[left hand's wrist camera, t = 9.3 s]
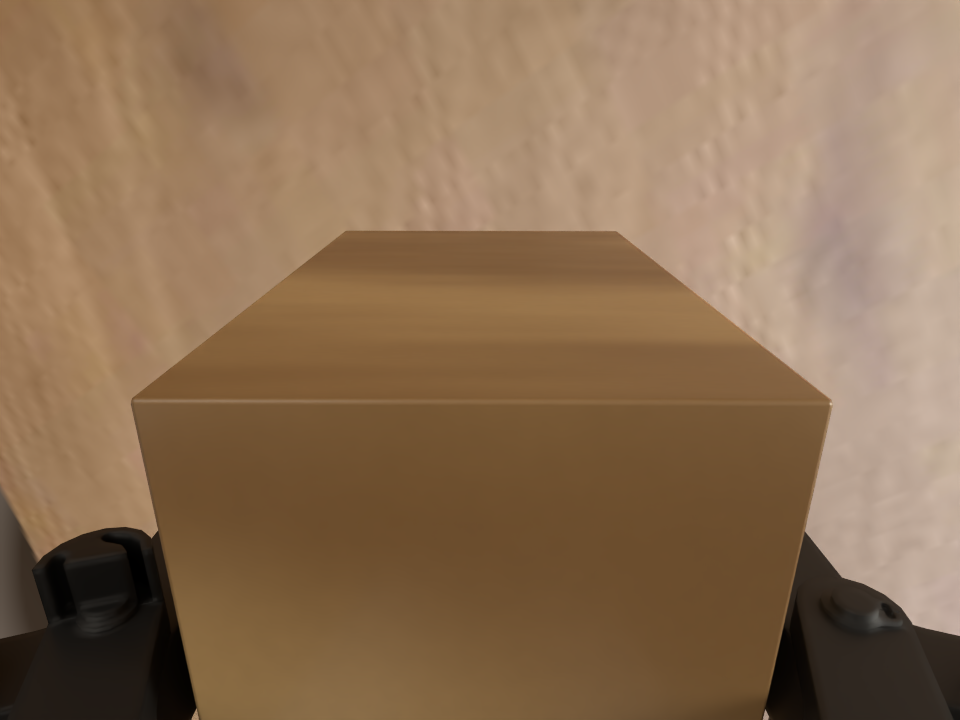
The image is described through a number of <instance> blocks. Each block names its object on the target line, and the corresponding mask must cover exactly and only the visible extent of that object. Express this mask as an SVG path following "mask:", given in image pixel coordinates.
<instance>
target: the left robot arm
mask: <svg viewBox="0 0 960 720" xmlns="http://www.w3.org/2000/svg"><path fill="white" fill-rule="evenodd" d="M32 572H33V575H34V578H35V582H36V585H37V588H38V591H39V594H40V597H41V601H42V604H43V607H44V610H45V614H46V617H47V620H48V623H49V624H48V626H47V628H44V629H41V630H38V631H34V632H29V633H25V634H20V635H16V636H12V637H7V638H2V639H0V720H192V719H191V718H192V716H193V714H194V712H195V710H196V708H197V707H196V702H195V698H194V693H193V688H192V684H191V679H190V675H189V670H188V665H187V661H186V656H185V651H184V647H183V642H182V638H181V633H180V628H179V624H178V619H177V614H176V610H175V605H174V601H173V596H172V591H171V587H170V582H169V577H168V573H167V568H166V564H165V559H164V554H163V550H162V545H161V540H160V536H159V531H157V533H156V534H155V535H154V536H153V538H152V539H151V537H150V536H148V535H147V534H146V533H145V532H143V531H142V530H138V529H133V528H128V527H119V528H105V529H101V530H97V531H94V532H90V533H86V534H82V535H80V536H78V537H76V538H73V539H71V540H69V541H67V542H64V543H62V544H60V545H59V546H58V547H56V548H55V549H53V550H52V551H50V552H49V553H47V554H46V555H44V556H43V557H42V558H41V560H40V561H39V562H38V563H37V565H36V566H35V567H34V568H33V569H32ZM765 709H766V711H767V713H768V715H769V719H768V720H960V636H957V635H952V634H948V633H943V632H939V631H934V630H930V629H925V628H922V627H918V626H915V625H912V623H911V621H910V620H909V618H908V617H907V616H906V614H905V613H904V611H903V610H902V608H900V607H899V606H898V605H897V604H895V603H894V602H893V601H892V600H890V599H889V598H888V597H887V596H885V595H884V594H882V593H880V592H878V591H876V590H874V589H872V588H870V587H868V586H866V585H864V584H862V583H858V582H855V581H851V580H848V579H844V578H842V577H841V576H840V575H839V573H838V572H837V571H836V570H835V568H834V567H833V566H832V565H831V563H830V562H829V561H828V560H827V558H826V557H825V556H824V555H823V553H822V552H821V551H820V550H819V549H818V547H817V546H816V545H815V544H814V542H813V541H812V540H811V539H810V537H809V536H808V535H807V534H806V532H804V536H803V541H802V545H801V550H800V554H799V559H798V563H797V568H796V572H795V577H794V581H793V586H792V590H791V595H790V599H789V604H788V608H787V613H786V617H785V622H784V626H783V631H782V635H781V640H780V644H779V649H778V653H777V658H776V662H775V667H774V671H773V676H772V680H771V685H770V689H769V694H768V698H767V703H766V707H765Z"/></svg>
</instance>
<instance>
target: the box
mask: <svg viewBox="0 0 960 720" xmlns="http://www.w3.org/2000/svg"><path fill="white" fill-rule="evenodd" d="M131 406H132V411H133V416H134V420H135V425H136V429H137V434H138V439H139V443H140V448H141V453H142V457H143V462H144V466H145V471H146V476H147V480H148V485H149V490H150V494H151V499H152V503H153V508H154V513H155V517H156V522H157V527H158V531H159V536H160V540H161V545H162V550H163V554H164V559H165V564H166V568H167V573H168V577H169V582H170V587H171V591H172V596H173V601H174V605H175V610H176V614H177V619H178V624H179V628H180V633H181V638H182V642H183V647H184V651H185V656H186V661H187V665H188V670H189V675H190V679H191V684H192V688H193V693H194V698H195V702H196V707H197V712H198V716H199V720H763V716H764V712H765V707H766V703H767V698H768V694H769V689H770V685H771V680H772V676H773V671H774V667H775V662H776V658H777V653H778V649H779V644H780V640H781V635H782V631H783V626H784V622H785V617H786V613H787V608H788V604H789V599H790V595H791V590H792V586H793V581H794V577H795V572H796V568H797V563H798V559H799V554H800V550H801V545H802V541H803V536H804V532H805V527H806V523H807V518H808V514H809V509H810V505H811V500H812V496H813V491H814V487H815V482H816V478H817V473H818V469H819V464H820V460H821V455H822V451H823V446H824V442H825V437H826V433H827V428H828V424H829V419H830V415H831V410H832V401H831V399H829V398H828V397H827V396H826V395H824V394H823V393H822V392H821V391H819V390H818V389H817V388H815V387H814V386H813V385H812V384H810V383H809V382H808V381H807V380H805V379H804V378H803V377H801V376H800V375H799V374H798V373H796V372H795V371H794V370H793V369H791V368H790V367H789V366H787V365H786V364H785V363H784V362H782V361H781V360H780V359H779V358H777V357H776V356H775V355H773V354H772V353H771V352H770V351H768V350H767V349H766V348H764V347H763V346H762V345H761V344H759V343H758V342H757V341H756V340H754V339H753V338H752V337H750V336H749V335H748V334H747V333H745V332H744V331H743V330H742V329H740V328H739V327H738V326H736V325H735V324H734V323H733V322H731V321H730V320H729V319H728V318H726V317H725V316H724V315H722V314H721V313H720V312H719V311H717V310H716V309H715V308H713V307H712V306H711V305H710V304H708V303H707V302H706V301H705V300H703V299H702V298H701V297H699V296H698V295H697V294H696V293H694V292H693V291H692V290H691V289H689V288H688V287H687V286H685V285H684V284H683V283H682V282H680V281H679V280H678V279H677V278H675V277H674V276H673V275H671V274H670V273H669V272H668V271H666V270H665V269H664V268H663V267H661V266H660V265H659V264H657V263H656V262H655V261H654V260H652V259H651V258H650V257H648V256H647V255H646V254H645V253H643V252H642V251H641V250H640V249H638V248H637V247H636V246H634V245H633V244H632V243H631V242H629V241H628V240H627V239H626V238H624V237H623V236H622V235H620V234H619V233H618V232H616V231H345V232H344V233H343V234H341V235H340V236H339V237H338V238H336V239H335V240H334V241H333V242H331V243H330V244H329V245H327V246H326V247H325V248H324V249H322V250H321V251H320V252H318V253H317V254H316V255H315V256H313V257H312V258H311V259H310V260H308V261H307V262H306V263H304V264H303V265H302V266H301V267H299V268H298V269H297V270H295V271H294V272H293V273H292V274H290V275H289V276H288V277H287V278H285V279H284V280H283V281H281V282H280V283H279V284H278V285H276V286H275V287H274V288H273V289H271V290H270V291H269V292H267V293H266V294H265V295H264V296H262V297H261V298H260V299H258V300H257V301H256V302H255V303H253V304H252V305H251V306H250V307H248V308H247V309H246V310H244V311H243V312H242V313H241V314H239V315H238V316H237V317H235V318H234V319H233V320H232V321H230V322H229V323H228V324H227V325H225V326H224V327H223V328H221V329H220V330H219V331H218V332H216V333H215V334H214V335H213V336H211V337H210V338H209V339H207V340H206V341H205V342H204V343H202V344H201V345H200V346H198V347H197V348H196V349H195V350H193V351H192V352H191V353H190V354H188V355H187V356H186V357H184V358H183V359H182V360H181V361H179V362H178V363H177V364H175V365H174V366H173V367H172V368H170V369H169V370H168V371H167V372H165V373H164V374H163V375H161V376H160V377H159V378H158V379H156V380H155V381H154V382H153V383H151V384H150V385H149V386H147V387H146V388H145V389H144V390H142V391H141V392H140V393H138V394H137V395H136V396H135V397H133V398H132V401H131Z"/></svg>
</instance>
